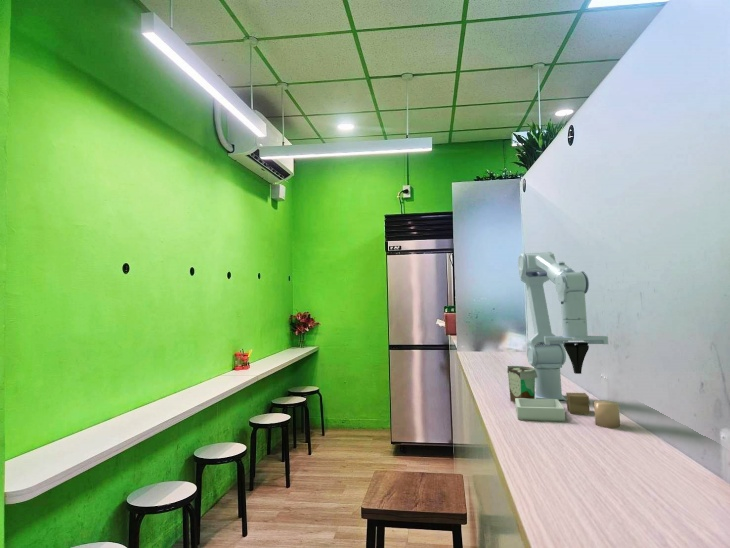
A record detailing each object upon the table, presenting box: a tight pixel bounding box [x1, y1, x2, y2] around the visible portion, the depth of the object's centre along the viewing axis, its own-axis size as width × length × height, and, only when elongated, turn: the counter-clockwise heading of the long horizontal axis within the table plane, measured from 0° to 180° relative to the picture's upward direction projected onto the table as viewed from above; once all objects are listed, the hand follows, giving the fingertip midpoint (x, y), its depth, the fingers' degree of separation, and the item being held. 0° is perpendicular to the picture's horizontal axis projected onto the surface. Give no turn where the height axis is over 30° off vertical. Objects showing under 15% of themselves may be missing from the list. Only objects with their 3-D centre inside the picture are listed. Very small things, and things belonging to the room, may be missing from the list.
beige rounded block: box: [593, 400, 621, 429], centre depth 100 cm, size 5×5×5 cm
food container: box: [507, 365, 537, 405], centre depth 123 cm, size 12×6×10 cm, turn 179°
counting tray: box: [514, 398, 566, 422], centre depth 110 cm, size 11×11×3 cm
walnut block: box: [565, 392, 591, 415], centre depth 112 cm, size 4×4×4 cm
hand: (577, 373), depth 110 cm, fingers closed
